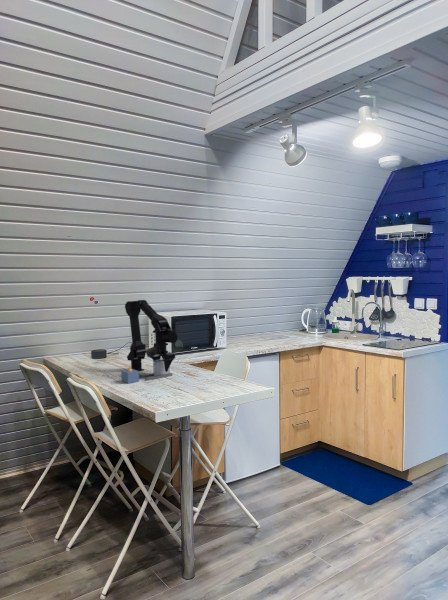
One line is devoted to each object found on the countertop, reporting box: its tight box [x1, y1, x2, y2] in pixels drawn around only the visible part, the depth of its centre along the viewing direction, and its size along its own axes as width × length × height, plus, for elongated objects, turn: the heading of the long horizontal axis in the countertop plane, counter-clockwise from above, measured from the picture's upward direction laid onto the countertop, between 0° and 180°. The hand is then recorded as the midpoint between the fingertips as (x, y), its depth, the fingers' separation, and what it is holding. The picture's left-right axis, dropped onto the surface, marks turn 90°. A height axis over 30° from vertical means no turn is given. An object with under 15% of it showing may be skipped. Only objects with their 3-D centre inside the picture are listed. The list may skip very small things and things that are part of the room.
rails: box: [139, 372, 173, 381], centre depth 238 cm, size 8×16×1 cm, turn 130°
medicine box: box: [152, 358, 171, 376], centre depth 241 cm, size 8×4×9 cm, turn 130°
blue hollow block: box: [120, 369, 140, 385], centre depth 228 cm, size 7×6×6 cm
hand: (161, 370), depth 241 cm, fingers open, 9 cm apart
